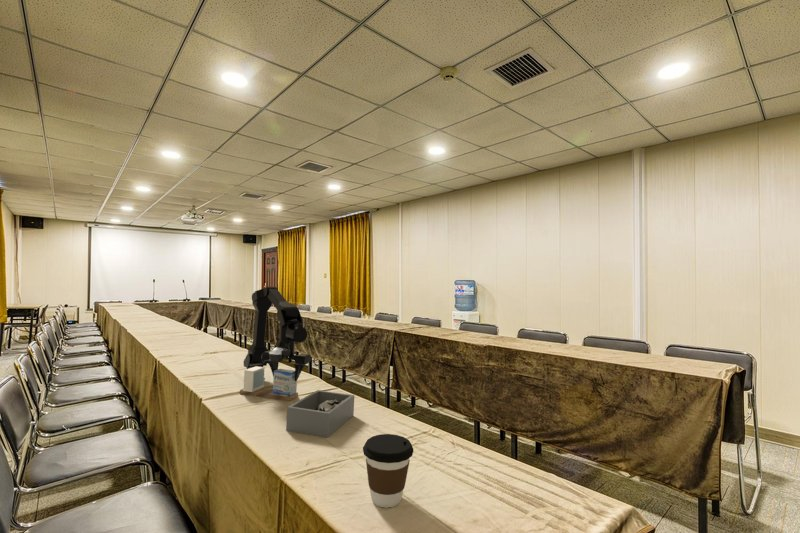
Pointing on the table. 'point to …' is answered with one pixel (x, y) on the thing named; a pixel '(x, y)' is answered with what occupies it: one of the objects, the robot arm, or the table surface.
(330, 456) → the table surface
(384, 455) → the coffee cup
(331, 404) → the camera
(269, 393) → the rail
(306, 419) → the tray
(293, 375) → the medicine box
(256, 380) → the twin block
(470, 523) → the table surface
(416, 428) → the table surface
